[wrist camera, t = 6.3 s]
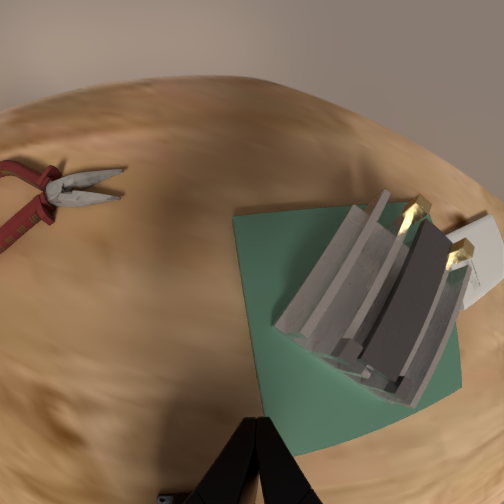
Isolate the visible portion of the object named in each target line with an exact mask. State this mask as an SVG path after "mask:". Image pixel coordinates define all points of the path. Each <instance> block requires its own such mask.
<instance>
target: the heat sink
mask: <svg viewBox="0 0 504 504" xmlns="http://www.w3.org/2000/svg"><path fill="white" fill-rule="evenodd" d="M390 195H391V193H390V192H388V191H387V190H386V189H384V190H383V191H382V192H381V193H380V194H379V195H378V196H377V197H376V198H375V199H374V200H373V201H371V202H370V203H369V204H368V205H367V206H366V207H365V208H364V209H363V210H361V209H360V208H359V207H357V206H356V205H355V204H353V205H352V206H351V207H350V209H349V210H348V211H347V212H346V214H345V215H344V217H343V219H342V220H341V222H340V223H339V225H338V227H337V228H336V230H335V231H334V233H333V235H332V236H331V238H330V239H329V241H328V242H327V244H326V246H325V247H324V249H323V250H322V252H321V253H320V255H319V256H318V258H317V259H316V261H315V263H314V264H313V266H312V267H311V269H310V270H309V272H308V273H307V275H306V276H305V278H304V279H303V281H302V282H301V284H300V285H299V287H298V288H297V290H296V291H295V292H294V294H293V295H292V297H291V298H290V300H289V301H288V303H287V304H286V306H285V307H284V308H283V310H282V311H281V313H280V314H279V316H278V317H277V318H276V320H275V321H274V323H273V324H272V326H271V327H272V328H273V329H275V330H276V331H277V332H279V333H280V334H282V335H283V336H285V337H286V338H287V339H289V340H290V341H292V342H293V343H295V344H296V345H298V346H299V347H301V348H302V349H303V350H305V351H306V352H308V353H309V354H311V355H312V356H314V357H315V358H317V359H318V360H320V361H321V362H323V363H324V364H326V365H327V366H329V367H330V368H332V369H333V370H335V371H336V372H338V373H340V374H341V375H343V376H344V377H346V378H347V379H349V380H350V381H352V382H353V383H355V384H357V385H358V386H360V387H361V388H363V389H364V390H366V391H368V392H369V393H371V394H372V395H374V396H376V397H377V398H379V399H381V400H382V401H384V402H387V403H390V404H393V403H397V404H400V405H404V406H407V407H411V408H414V409H415V407H416V405H417V404H418V402H419V400H420V398H421V396H422V395H423V393H424V391H425V389H426V387H427V385H428V383H429V381H430V379H431V377H432V375H433V373H434V371H435V369H436V367H437V365H438V362H439V360H440V358H441V356H442V354H443V351H444V349H445V347H446V344H447V342H448V339H449V337H450V335H451V332H452V329H453V327H454V324H455V322H456V319H457V316H458V313H459V310H460V308H461V305H462V302H463V299H464V295H465V292H466V289H467V286H468V282H469V279H470V275H471V272H472V268H471V267H470V266H469V265H466V266H463V267H461V268H458V269H455V270H453V271H450V268H451V264H452V261H453V262H454V263H455V264H458V263H460V262H462V261H465V260H467V259H470V258H472V257H473V253H474V249H475V247H474V245H473V244H472V243H471V242H470V241H469V240H468V239H467V238H466V237H465V238H463V239H461V240H459V241H457V242H455V243H453V245H452V248H451V252H450V255H449V258H448V261H447V265H446V268H445V271H444V274H443V277H442V279H441V282H440V285H439V288H438V291H437V293H436V296H435V298H434V301H433V304H432V306H431V309H430V311H429V313H428V316H427V318H426V321H425V323H424V325H423V328H422V330H421V332H420V334H419V336H418V339H417V341H416V343H415V345H414V347H413V349H412V351H411V353H410V355H409V357H408V359H407V361H406V363H405V365H404V367H403V369H402V371H401V373H400V375H399V376H398V378H397V380H396V382H389V381H387V380H385V379H384V378H382V377H381V376H379V375H378V374H376V373H375V372H373V371H372V370H371V369H369V368H368V367H366V366H365V365H363V364H362V363H360V362H359V361H357V360H356V359H357V358H358V356H359V354H360V353H361V351H362V349H363V347H362V344H363V343H364V341H365V339H366V337H367V336H368V334H369V332H370V330H371V328H372V326H373V325H374V323H375V321H376V319H377V317H378V315H379V313H380V311H381V309H382V308H383V306H384V304H385V302H386V300H387V298H388V296H389V294H390V291H391V289H392V287H393V285H394V283H395V281H396V279H397V277H398V274H399V272H400V270H401V268H402V266H403V263H404V261H405V259H406V256H407V254H408V252H409V249H410V247H411V244H412V242H413V240H414V239H412V240H410V241H408V242H407V243H405V244H403V240H404V238H405V236H406V234H407V231H408V229H409V226H410V224H415V223H416V222H418V221H419V220H421V219H422V218H424V217H425V216H427V215H428V214H429V211H430V209H431V206H432V204H431V203H430V202H429V201H428V200H427V199H425V198H424V197H423V196H422V195H421V194H419V195H417V196H416V197H415V198H414V199H412V200H411V201H410V202H409V203H407V204H406V205H405V207H404V209H403V211H402V214H401V215H400V216H399V217H397V218H396V219H394V220H393V221H392V222H390V223H389V224H388V225H386V226H385V227H383V226H382V225H380V224H379V223H378V222H377V221H378V219H379V217H380V215H381V213H382V211H383V209H384V207H385V205H386V203H387V201H388V199H389V197H390ZM449 271H450V272H449Z"/></svg>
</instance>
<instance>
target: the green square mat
mask: <svg viewBox="0 0 504 504" xmlns="http://www.w3.org/2000/svg"><path fill="white" fill-rule="evenodd" d="M407 203H409V202H394V203H386V205H385V207H384V209H383V211H382V213H381V215H380V217H379V219H378V221H377V222H378V223H379V224H380V225H382V226H383V227H385V226H386V225H388V224H389V223H390V222H392V221H393V220H394V219H396V218H397V217H399V216H400V215H401V214H402V211H403V209H404V207H405V205H406V204H407ZM367 205H368V204H363V205H356V206H357V207H359V208H360V209H361V210H363V209H364V208H365V207H366V206H367ZM351 206H352V205H349V206H336V207H324V208H312V209H301V210H290V211H280V212H270V213H260V214H251V215H241V216H233V220H232V222H233V229H234V236H235V242H236V249H237V255H238V262H239V268H240V275H241V281H242V288H243V294H244V300H245V307H246V313H247V319H248V325H249V331H250V337H251V344H252V350H253V356H254V362H255V368H256V373H257V379H258V385H259V391H260V397H261V403H262V408H263V414H264V417H266V416H268V417H270V418H271V420H272V421H273V423H274V425H275V427H276V429H277V430H278V432H279V434H280V436H281V437H282V439H283V441H284V442H285V444H286V446H287V448H288V449H289V451H290V453H291V454H292V456H293V457H294V456H298V455H302V454H306V453H310V452H313V451H317V450H320V449H324V448H327V447H330V446H334V445H337V444H340V443H343V442H346V441H349V440H352V439H354V438H357V437H360V436H363V435H365V434H368V433H371V432H373V431H376V430H378V429H381V428H383V427H385V426H388V425H390V424H392V423H395V422H397V421H399V420H401V419H404V418H406V417H408V416H410V415H412V414H414V413H416V412H418V411H420V410H422V409H424V408H426V407H428V406H430V405H432V404H434V403H435V402H437V401H439V400H441V399H443V398H445V397H446V396H448V395H450V394H451V393H453V392H455V391H457V390H458V389H460V388H462V377H461V363H460V352H459V343H458V335H457V328H456V322H455V324H454V327H453V329H452V332H451V335H450V337H449V339H448V342H447V344H446V347H445V349H444V351H443V354H442V356H441V358H440V360H439V362H438V365H437V367H436V369H435V371H434V373H433V375H432V377H431V379H430V381H429V383H428V385H427V387H426V389H425V391H424V393H423V395H422V396H421V398H420V400H419V402H418V404H417V405H416V407H415V409H414V408H411V407H407V406H404V405H400V404H397V403H393V404H390V403H387V402H384V401H382V400H381V399H379V398H377V397H376V396H374V395H372V394H371V393H369V392H368V391H366V390H364V389H363V388H361V387H360V386H358V385H357V384H355V383H353V382H352V381H350V380H349V379H347V378H346V377H344V376H343V375H341V374H340V373H338V372H336V371H335V370H333V369H332V368H330V367H329V366H327V365H326V364H324V363H323V362H321V361H320V360H318V359H317V358H315V357H314V356H312V355H311V354H309V353H308V352H306V351H305V350H303V349H302V348H301V347H299V346H298V345H296V344H295V343H293V342H292V341H290V340H289V339H287V338H286V337H285V336H283V335H282V334H280V333H279V332H277V331H276V330H275V329H273V328H272V327H271V326H272V324H273V323H274V321H275V320H276V318H277V317H278V316H279V314H280V313H281V311H282V310H283V308H284V307H285V306H286V304H287V303H288V301H289V300H290V298H291V297H292V295H293V294H294V292H295V291H296V290H297V288H298V287H299V285H300V284H301V282H302V281H303V279H304V278H305V276H306V275H307V273H308V272H309V270H310V269H311V267H312V266H313V264H314V263H315V261H316V259H317V258H318V256H319V255H320V253H321V252H322V250H323V249H324V247H325V246H326V244H327V242H328V241H329V239H330V238H331V236H332V235H333V233H334V231H335V230H336V228H337V227H338V225H339V223H340V222H341V220H342V219H343V217H344V215H345V214H346V212H347V211H348V210H349V209H350V207H351ZM426 218H427V219H428V220H429V221H430V222H431V223H432V220H431V217H430V214H428V215H427V216H425V217H424V218H422V219H421V220H419V221H418V222H416V223H415V224H410V226H409V229H408V231H407V234H406V236H405V238H404V240H403V244H405V243H407V242H408V241H410V240H412V239H414V237H415V235H416V232H417V229H418V227H419V224H420V222H421V221H423V220H424V219H426Z"/></svg>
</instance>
